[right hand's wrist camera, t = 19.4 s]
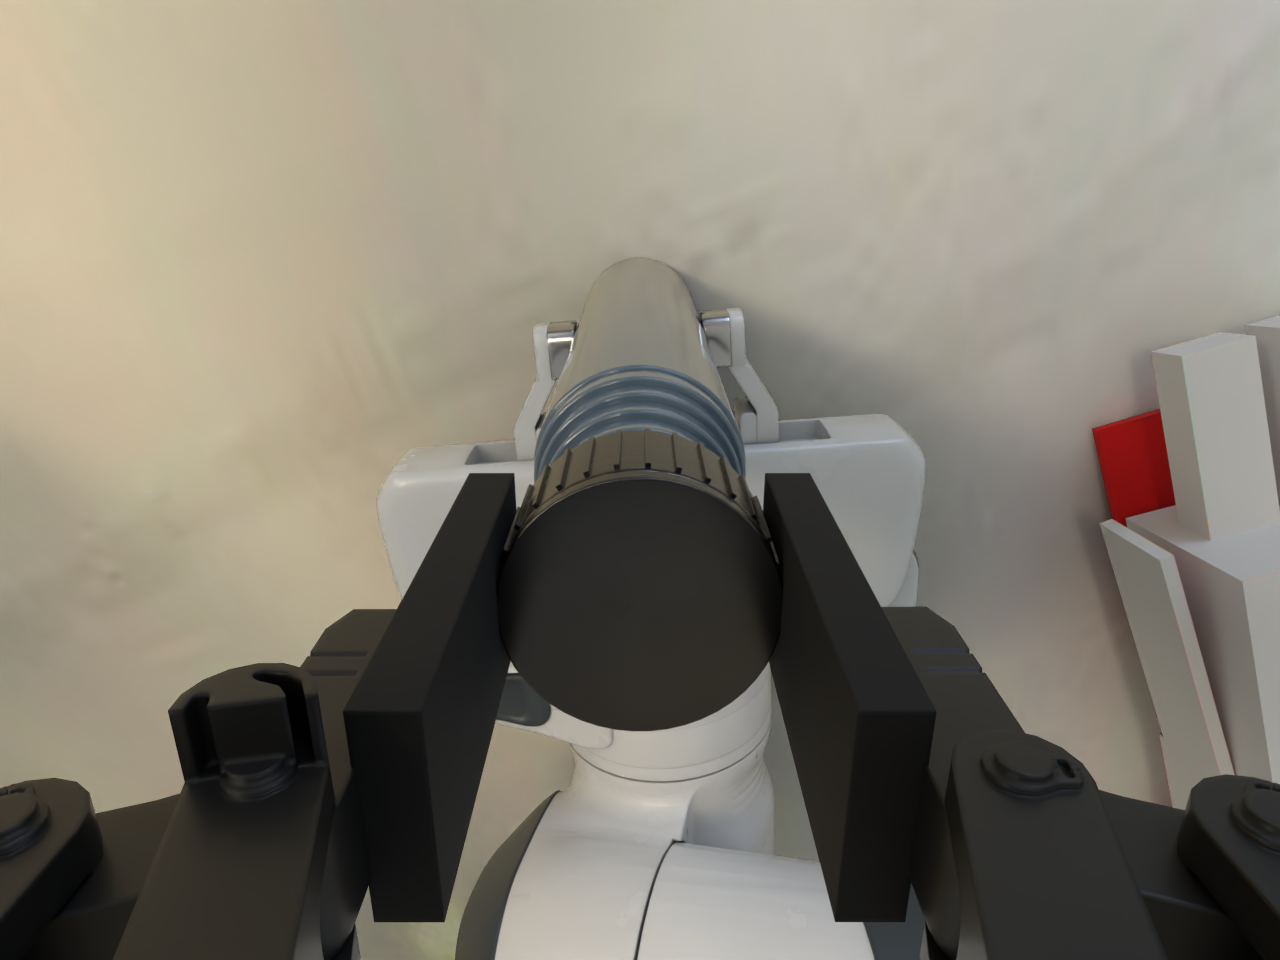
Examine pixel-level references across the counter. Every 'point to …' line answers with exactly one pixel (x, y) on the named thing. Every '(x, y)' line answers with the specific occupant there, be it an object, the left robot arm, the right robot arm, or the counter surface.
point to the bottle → (639, 369)
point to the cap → (639, 583)
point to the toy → (1204, 551)
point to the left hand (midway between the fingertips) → (636, 317)
